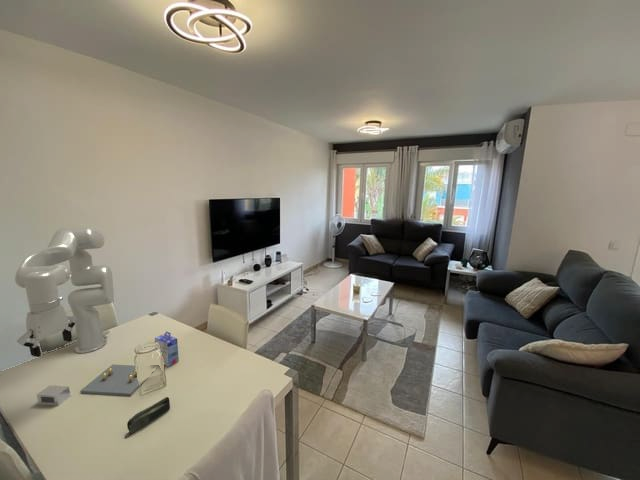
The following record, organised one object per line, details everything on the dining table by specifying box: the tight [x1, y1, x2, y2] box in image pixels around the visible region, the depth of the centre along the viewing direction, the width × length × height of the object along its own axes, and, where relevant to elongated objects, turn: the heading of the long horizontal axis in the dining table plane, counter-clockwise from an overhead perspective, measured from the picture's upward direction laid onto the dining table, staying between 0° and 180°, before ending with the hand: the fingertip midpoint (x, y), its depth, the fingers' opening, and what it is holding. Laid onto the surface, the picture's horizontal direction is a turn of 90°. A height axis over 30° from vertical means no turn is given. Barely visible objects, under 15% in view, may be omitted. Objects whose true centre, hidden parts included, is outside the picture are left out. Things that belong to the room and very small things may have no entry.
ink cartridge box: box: [154, 330, 180, 368], centre depth 125 cm, size 10×6×14 cm, turn 64°
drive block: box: [36, 385, 71, 407], centre depth 101 cm, size 5×8×5 cm, turn 88°
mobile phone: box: [124, 396, 171, 438], centre depth 94 cm, size 5×3×15 cm
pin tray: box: [79, 363, 140, 397], centre depth 113 cm, size 16×21×4 cm
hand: (53, 348), depth 97 cm, fingers open, 9 cm apart
